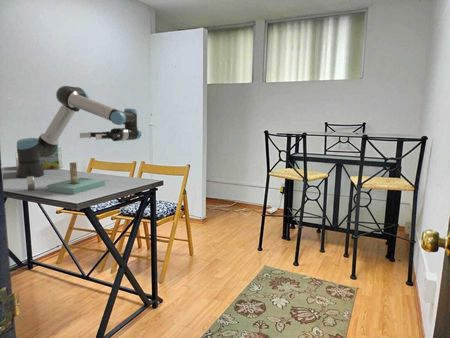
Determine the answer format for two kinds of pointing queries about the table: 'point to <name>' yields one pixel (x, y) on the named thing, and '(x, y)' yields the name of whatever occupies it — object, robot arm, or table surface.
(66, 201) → the table surface
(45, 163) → the snack box
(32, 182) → the short pin
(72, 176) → the tall pin
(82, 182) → the hole plate
